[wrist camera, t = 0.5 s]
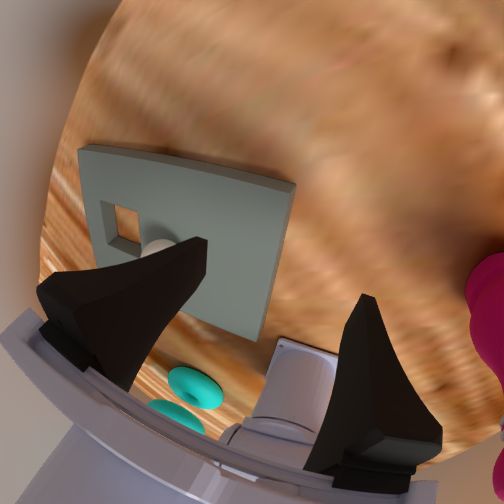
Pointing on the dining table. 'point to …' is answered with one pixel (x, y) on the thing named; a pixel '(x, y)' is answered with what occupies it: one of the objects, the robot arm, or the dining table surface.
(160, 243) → the ball
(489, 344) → the pepper mill
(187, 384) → the donuts
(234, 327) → the plate
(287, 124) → the dining table surface
